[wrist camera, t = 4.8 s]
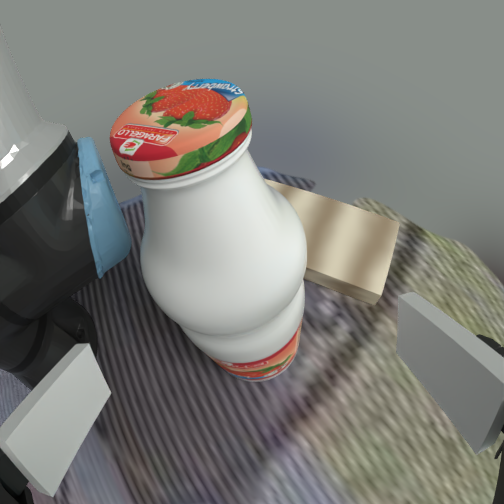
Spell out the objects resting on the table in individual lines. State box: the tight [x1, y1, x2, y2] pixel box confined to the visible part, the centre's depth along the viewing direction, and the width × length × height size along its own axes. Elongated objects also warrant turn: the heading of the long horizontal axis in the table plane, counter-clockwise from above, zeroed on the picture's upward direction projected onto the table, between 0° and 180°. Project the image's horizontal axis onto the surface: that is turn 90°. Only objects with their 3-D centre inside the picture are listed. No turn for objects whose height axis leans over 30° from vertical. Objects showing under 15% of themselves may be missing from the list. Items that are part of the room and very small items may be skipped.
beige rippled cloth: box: [264, 179, 400, 306], centre depth 37 cm, size 20×11×3 cm, turn 63°
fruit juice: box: [110, 79, 307, 382], centre depth 20 cm, size 9×9×28 cm
